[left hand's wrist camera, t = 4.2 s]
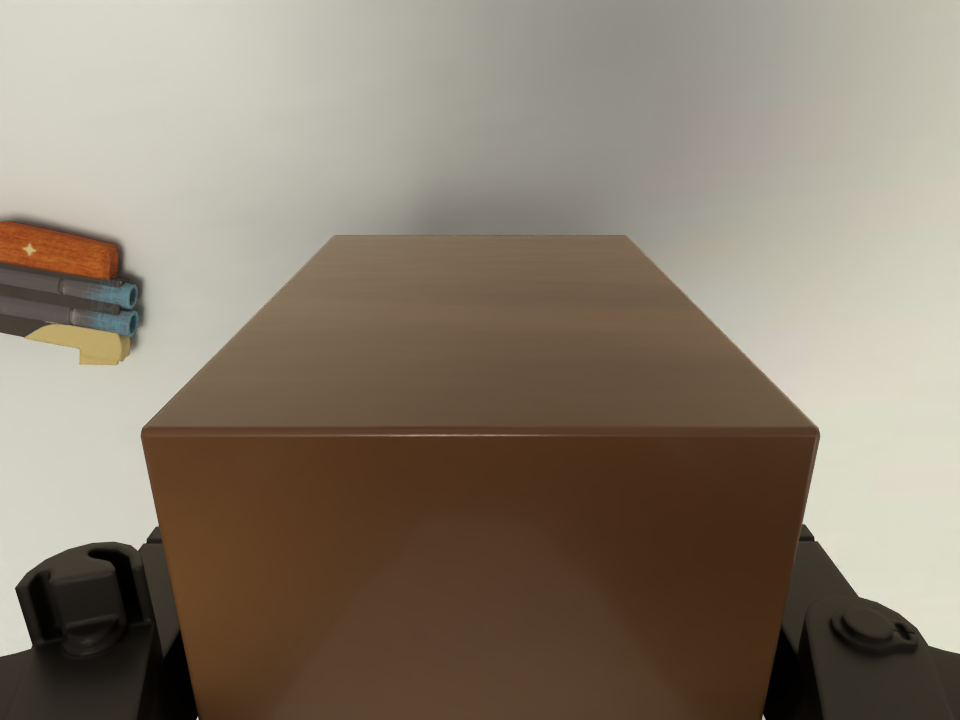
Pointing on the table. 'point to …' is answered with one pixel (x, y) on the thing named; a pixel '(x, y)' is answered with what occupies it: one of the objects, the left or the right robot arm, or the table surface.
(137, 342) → the table surface
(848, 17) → the table surface
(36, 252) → the toy gun
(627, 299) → the bar
